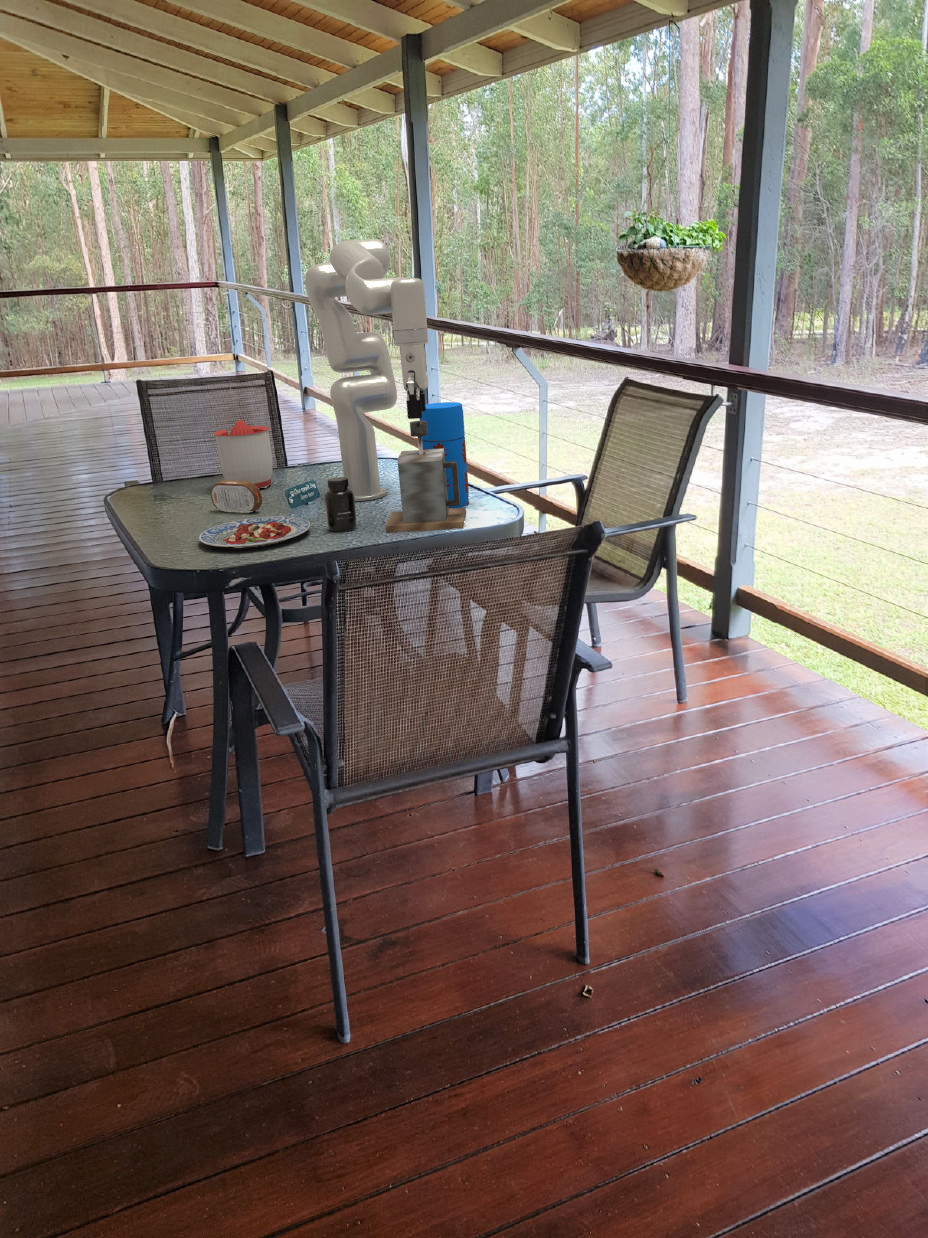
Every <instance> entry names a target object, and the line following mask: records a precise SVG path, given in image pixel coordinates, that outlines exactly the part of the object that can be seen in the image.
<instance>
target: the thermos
mask: <svg viewBox="0 0 928 1238" xmlns="http://www.w3.org/2000/svg"><path fill="white" fill-rule="evenodd" d="M425 406H426V410H425V411H424V412H422V418H418V419H419V420H418V421H421V420H424V421H427V426H428V435H426V436H422V445H423V450H427V449H443V448H444V455H445V462H451V461H452V462H456V461H457V469H458V482H459V496H460V505H459V506H449V509H450V508H462V507H463V508H465V507H464V506H466V505H467V506H468V505H470V503H469V502H470V500H469V496H470V493H469V492H470V491H469V490H470V489H469V478H468V477H469V476H468V463H467V462H468V461H467V447H466V445H467V444H466V436H465V435H466V432H465V421H464V419H465V418H464V417H465V416H464V410H463V409H464V408H463V404H462V403H461V402H457V401H455V402H454V401H449V402H448V401H446V402H445V401H443V402H432V403H425ZM446 481H447V494H448V500H453V499H454V492H453V479H452V468H446ZM467 506H466V507H467Z"/></svg>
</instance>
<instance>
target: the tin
mask: <svg viewBox="0 0 928 1238" xmlns="http://www.w3.org/2000/svg"><path fill="white" fill-rule="evenodd" d="M209 493H210V494H209V495H210V498H211V502H212V504H213V506H214V507H215V508H216V509H217V508H225V509H229V510H230V509H231V510H238V511H255V512H257V511H258V510H259V509H260V508H261V507H262V504H263V496H262V493H261V491H260V489H258V488H257V486H256V485H254V484H253V483H251V482H249V481H234V480H225V479H222V480H219V481H218V482H217V483H214V485H212V486H211V489H210V492H209ZM256 510H257V511H256Z"/></svg>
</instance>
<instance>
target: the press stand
mask: <svg viewBox="0 0 928 1238" xmlns="http://www.w3.org/2000/svg"><path fill="white" fill-rule="evenodd" d="M396 459H397V460H396V461H397V469H398V470H397V471H398V481H399V483H398V484H399V489H400V490H399V492H400V502H401V510H399V511H392V512H391V513H390V515H389V518H388V520H387V522H386V525H385V527H384V528H385V534H386V533H387V534H389V532H390V533H403V532H402V531H408V532H422V531H439V530H453V529H452V528H461V529H464V527H465V523H464V521H465V522H466V516H467V509H466V508H467V507H463V508H450V509H449V506H459V505H460V496H459V482H458V469H457V461H456V462H452V461H451V462H445V455H444V448H443V449H427V450H423V454H420V455H419V449H416V450H414V449H413V450H412V449H411V450H401V452H400V454H399V455H398V456H397V458H396ZM446 468H452V479H453V492H454V499H453V500H448V494H447V481H446Z"/></svg>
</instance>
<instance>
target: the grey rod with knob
mask: <svg viewBox="0 0 928 1238" xmlns="http://www.w3.org/2000/svg"><path fill="white" fill-rule="evenodd" d="M409 431H410V436H411V437H413V438H414V437H417V447H418V449H417V450H419V455H420V454H423V445H422V436H426V435H428V426H427V421H424V420H421V421H420V420H414V421H413V420H412V421H410V422H409Z"/></svg>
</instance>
